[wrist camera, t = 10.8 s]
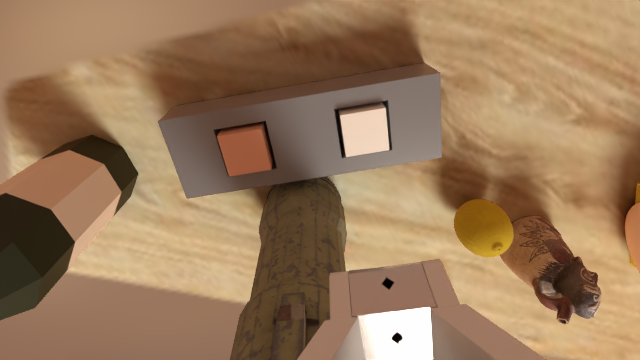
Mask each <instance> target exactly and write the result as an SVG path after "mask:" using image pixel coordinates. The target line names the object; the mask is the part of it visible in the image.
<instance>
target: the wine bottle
mask: <svg viewBox="0 0 640 360" xmlns="http://www.w3.org/2000/svg"><path fill="white" fill-rule="evenodd" d="M137 176H138V172H137V170H136V169H135V167H134V165H133V164H132V162H131V160H130V159H129V157H128V155H127V154H126V152H125V150H124V149H123V148H122V147H120V146H117V145H115V144H113V143H110V142H108V141H106V140H103V139H101V138H98V137H96V136H94V135H90V136H87V137H84V138H81V139H78V140H75V141H72V142H69V143H66V144H64V145H62V146H61V147H59V148H58V149H56V150H54V151H53V152H51V153H50V154H48V155H46V156H45V157H43V158H42V159H40V160H39V161H37V162H35V163H34V164H32V165H31V166H29V167H28V168H26V169H24V170H23V171H21V172H20V173H18V174H16V175H15V176H13V177H12V178H10V179H9V180H7V181H5V182H4V183H2V184H1V185H0V320H2V319H5V318H8V317H11V316H14V315H16V314H19V313H22V312H25V311H27V310H30V309H33V308H35V307H36V306H37V305H38V304H39V302H40V301H41V300H42V299H43V297H45V295H46V294H47V293H48V292H49V291H50V290H51V288H52V287H53V286H54V285H55V284H56V283H57V281H58V280H59V279H60V278H61V277H62V276H63V274H64V273H65V272H66V271H67V270H68V269H69V268H70V266H71V265H72V264H73V263H74V262H75V261H76V259H77V258H78V257H79V256H80V255H81V254H82V252H83V251H84V250H85V249H86V248H87V247H88V245H89V244H90V243H91V242H92V241H93V240H94V238H95V237H96V236H97V235H98V234H99V233H100V231H101V230H102V229H103V228H104V227H105V226H106V224H107V223H108V222H109V221H110V220H111V219H112V217H113V216H114V215H115V214H116V213H117V212H118V211H119V209H120V208H121V207H122V206H123V205H124V204H125V202H126V201H127V200H128V199H129V198H130V197H131V194H132V191H133V188H134V185H135V182H136V179H137Z"/></svg>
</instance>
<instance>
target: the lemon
mask: <svg viewBox="0 0 640 360" xmlns="http://www.w3.org/2000/svg"><path fill="white" fill-rule="evenodd" d="M454 228H455V231H456V234H457V236H458V238H459V240H460V241H461V242H462V244H463V245H464V246H465V247H466V248H467V249H468V250H470V251H471V252H473V253H474V254H476V255H479V256H482V257H495V256H498V255H500V254H502V253H504V252H505V251H506V250H507V249H508V248H509V247H510V245H511V243H512V241H513V237H514V232H513V226H512V223H511V221H510V219H509V217H508V215H507V214H506V213H505V212H504V211H503V209H502V208H501V207H499V206H498V205H497V204H495V203H493V202H491V201H488V200H484V199H474V200H470V201H468V202H466V203H464V204H463V205H462V206H461V207H460V208H459V209H458V210H457V212H456V214H455V218H454Z"/></svg>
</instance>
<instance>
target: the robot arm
mask: <svg viewBox="0 0 640 360" xmlns="http://www.w3.org/2000/svg"><path fill="white" fill-rule="evenodd" d="M329 290H330V320H326V321H324V322H323V324H322V325H321V327H320V328H319V329H318V331H317V332H316V334H315V335H314V336H313V338H312V339H311V341H310V342H309V343H308V345H307V346H306V348H305V349H304V351H303V352H302V353H301V355H300V356H299V358H298V359H297V360H428V359H433V360H546V359H545V358H543V357H542V356H540V355H539V354H537V353H536V352H535V351H533V350H532V349H530V348H529V347H527V346H526V345H524V344H523V343H522V342H520V341H519V340H517V339H516V338H514V337H513V336H511V335H510V334H508V333H507V332H506V331H504V330H503V329H501V328H500V327H498V326H497V325H495V324H494V323H493V322H491V321H490V320H488V319H487V318H485V317H484V316H482V315H481V314H480V313H478V312H477V311H475V310H474V309H472V308H471V307H469V306H468V305H466V304H462V305H460V304H459V301H458V299H457V296H456V294H455V292H454V289H453V287H452V285H451V282H450V280H449V277H448V275H447V273H446V270H445V268H444V266H443V263H442V261H441V260H440V259H436V260H429V261H422V262H417V263H409V264H402V265H395V266H387V267H380V268H370V269H360V270H351V271H349V272H348V271H345V272H335V273H330V276H329Z"/></svg>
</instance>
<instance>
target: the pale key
mask: <svg viewBox="0 0 640 360" xmlns="http://www.w3.org/2000/svg"><path fill="white" fill-rule="evenodd" d="M338 113H339V120H340V126H341V133H342V140H343V146H344V150H345V154H346V157H350V156H356V155H362V154H369V153H375V152H381V151H387V150H389V139H388V128H387V117H386V108H385V106H384V104H383V103H382V101H380V102H374V103H369V104H363V105H357V106H351V107H345V108H339V109H338Z"/></svg>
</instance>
